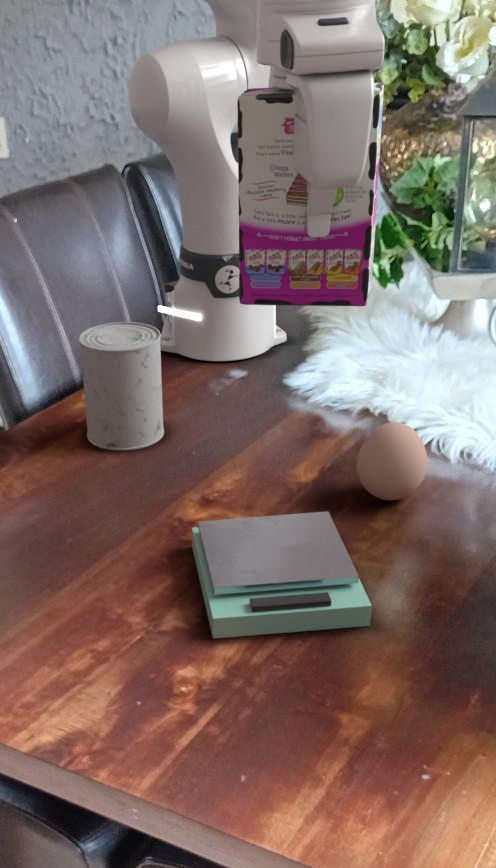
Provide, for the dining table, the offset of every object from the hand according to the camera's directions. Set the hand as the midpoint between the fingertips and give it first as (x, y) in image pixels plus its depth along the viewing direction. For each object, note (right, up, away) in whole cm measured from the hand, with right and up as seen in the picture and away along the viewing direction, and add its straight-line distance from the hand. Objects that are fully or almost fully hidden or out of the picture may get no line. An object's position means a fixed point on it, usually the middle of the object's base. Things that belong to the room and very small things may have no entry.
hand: (307, 225), depth 84 cm
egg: (+13, -20, +23) cm, 33 cm away
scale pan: (-1, -27, +10) cm, 29 cm away
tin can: (-16, -10, +39) cm, 44 cm away
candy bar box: (0, -5, +4) cm, 6 cm away
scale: (-1, -30, +11) cm, 32 cm away
